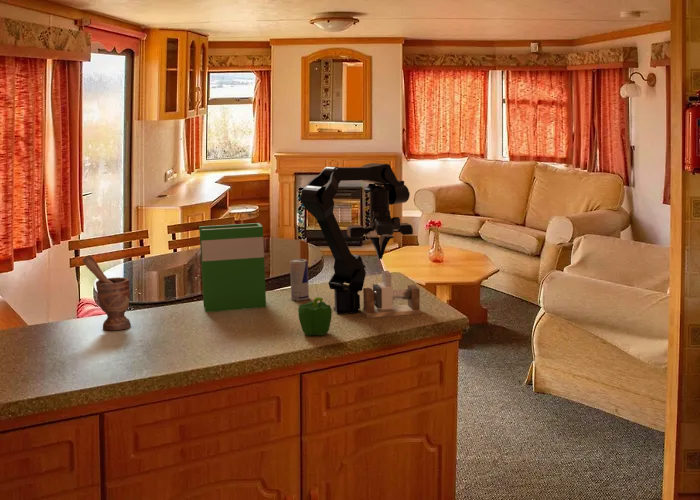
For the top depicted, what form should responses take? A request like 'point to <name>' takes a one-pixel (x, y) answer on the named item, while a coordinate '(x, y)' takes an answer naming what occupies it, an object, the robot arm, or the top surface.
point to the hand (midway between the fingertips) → (380, 258)
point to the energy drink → (299, 279)
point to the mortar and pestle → (111, 296)
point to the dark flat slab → (378, 296)
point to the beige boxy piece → (386, 290)
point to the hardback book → (232, 267)
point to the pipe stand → (401, 294)
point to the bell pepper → (315, 317)
